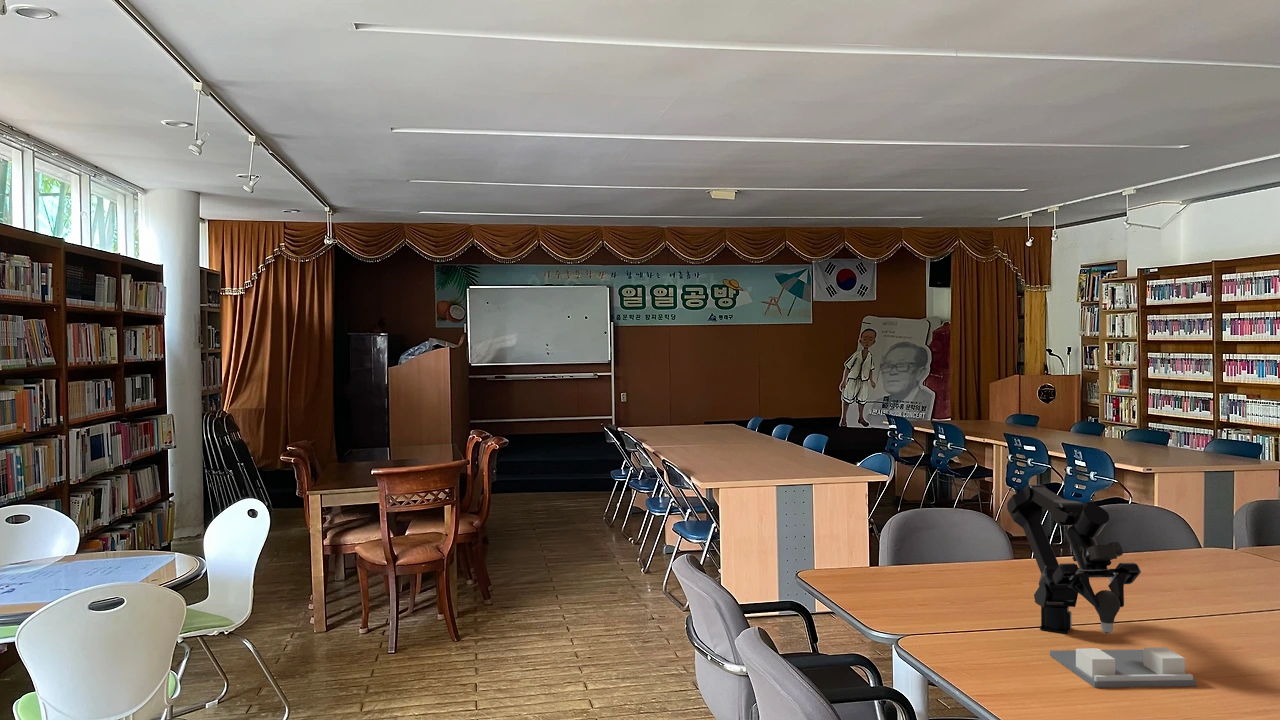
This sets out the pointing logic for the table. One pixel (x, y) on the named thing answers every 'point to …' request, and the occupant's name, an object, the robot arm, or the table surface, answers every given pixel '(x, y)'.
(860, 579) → the table surface
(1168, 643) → the table surface
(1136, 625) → the table surface
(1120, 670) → the board
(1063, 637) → the table surface
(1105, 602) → the black light bulb
